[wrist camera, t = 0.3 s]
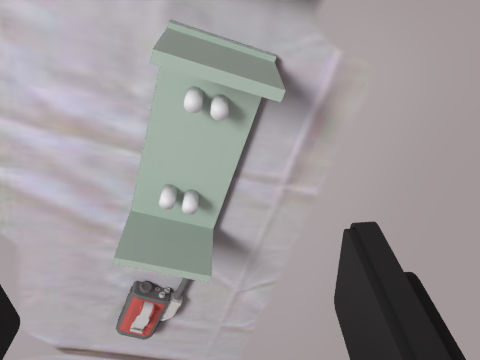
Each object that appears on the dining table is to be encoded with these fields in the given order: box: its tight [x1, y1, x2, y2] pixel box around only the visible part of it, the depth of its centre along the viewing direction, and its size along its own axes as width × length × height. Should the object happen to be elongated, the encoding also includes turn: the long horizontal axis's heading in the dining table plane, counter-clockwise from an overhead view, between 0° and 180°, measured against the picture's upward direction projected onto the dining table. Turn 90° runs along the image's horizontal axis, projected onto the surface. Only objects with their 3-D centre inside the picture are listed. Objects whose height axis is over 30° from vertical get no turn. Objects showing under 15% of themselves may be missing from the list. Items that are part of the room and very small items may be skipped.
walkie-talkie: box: [116, 278, 190, 339], centre depth 61 cm, size 9×4×20 cm
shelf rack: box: [113, 20, 286, 283], centre depth 42 cm, size 28×12×10 cm, turn 162°
